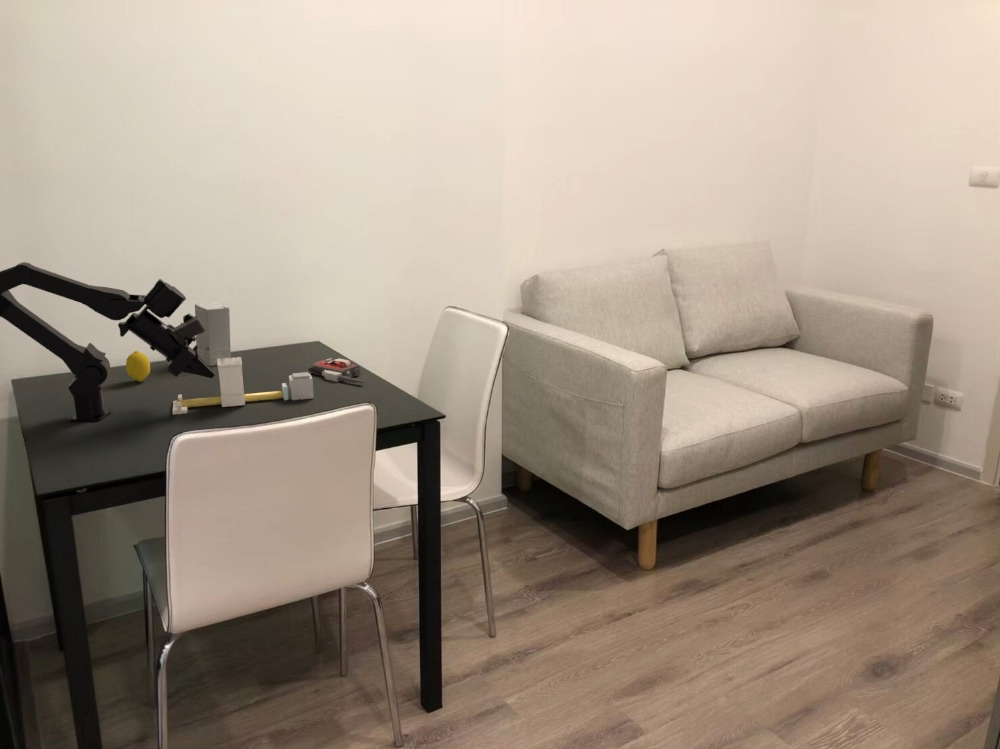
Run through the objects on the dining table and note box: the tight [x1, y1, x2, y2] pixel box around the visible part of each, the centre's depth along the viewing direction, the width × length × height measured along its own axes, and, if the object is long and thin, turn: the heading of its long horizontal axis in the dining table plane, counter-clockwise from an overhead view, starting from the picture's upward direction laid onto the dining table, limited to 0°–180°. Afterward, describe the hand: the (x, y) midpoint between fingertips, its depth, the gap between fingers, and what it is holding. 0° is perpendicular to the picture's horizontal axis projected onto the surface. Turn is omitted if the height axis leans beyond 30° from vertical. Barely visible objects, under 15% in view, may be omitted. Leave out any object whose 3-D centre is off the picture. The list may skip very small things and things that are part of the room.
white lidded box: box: [217, 356, 246, 408], centre depth 191 cm, size 5×7×10 cm
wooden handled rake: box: [172, 390, 284, 415], centre depth 192 cm, size 26×8×2 cm, turn 109°
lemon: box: [125, 350, 151, 383], centre depth 208 cm, size 6×6×8 cm
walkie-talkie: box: [307, 357, 365, 384], centre depth 213 cm, size 9×4×20 cm
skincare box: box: [194, 301, 232, 367], centre depth 226 cm, size 8×7×16 cm
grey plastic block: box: [281, 371, 315, 401], centre depth 196 cm, size 7×4×5 cm, turn 109°
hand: (213, 376), depth 190 cm, fingers closed
